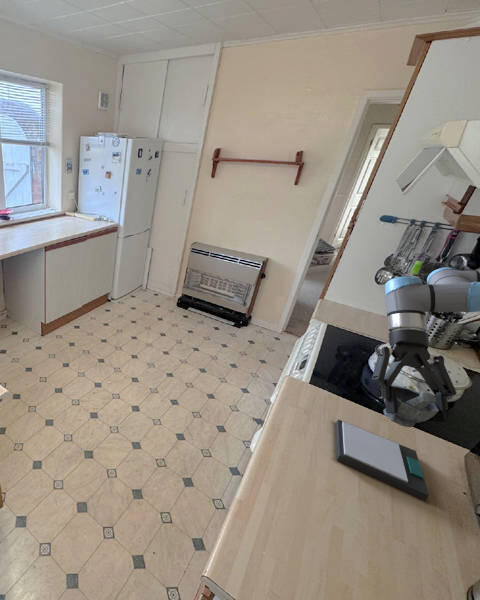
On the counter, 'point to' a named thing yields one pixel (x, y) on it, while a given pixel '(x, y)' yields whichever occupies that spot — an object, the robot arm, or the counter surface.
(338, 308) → the counter surface
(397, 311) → the robot arm
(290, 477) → the counter surface
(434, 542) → the counter surface
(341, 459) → the kitchen scale
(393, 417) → the mortar and pestle
